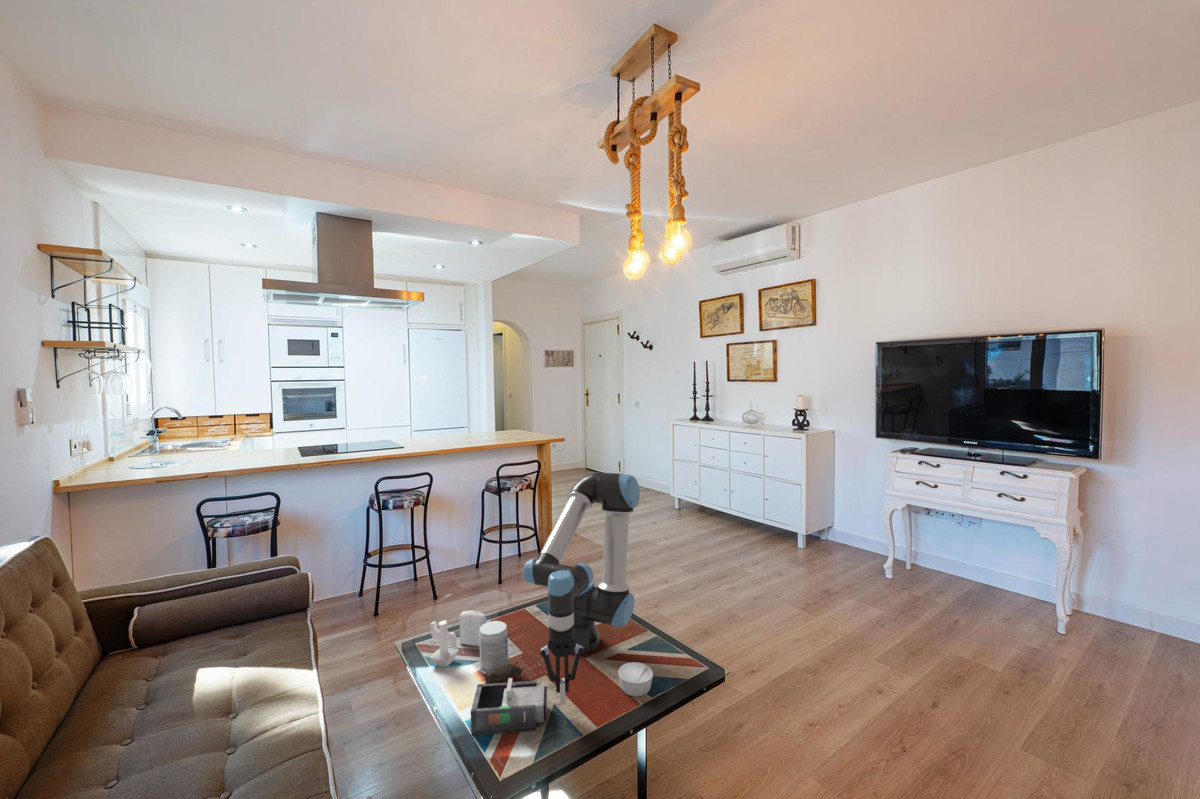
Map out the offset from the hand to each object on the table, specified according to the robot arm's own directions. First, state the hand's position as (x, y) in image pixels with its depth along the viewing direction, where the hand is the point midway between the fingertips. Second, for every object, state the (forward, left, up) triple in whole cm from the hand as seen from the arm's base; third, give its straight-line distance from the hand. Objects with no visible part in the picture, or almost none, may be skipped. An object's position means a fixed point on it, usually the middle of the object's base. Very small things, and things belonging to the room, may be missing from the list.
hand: (562, 701), depth 147 cm
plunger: (+11, 0, -3) cm, 11 cm away
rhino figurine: (+19, -17, -4) cm, 26 cm away
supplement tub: (+23, -25, -4) cm, 34 cm away
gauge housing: (+17, 0, -4) cm, 17 cm away
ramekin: (-24, -10, -4) cm, 26 cm away
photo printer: (+33, -42, -4) cm, 54 cm away
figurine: (+41, -30, -4) cm, 51 cm away
